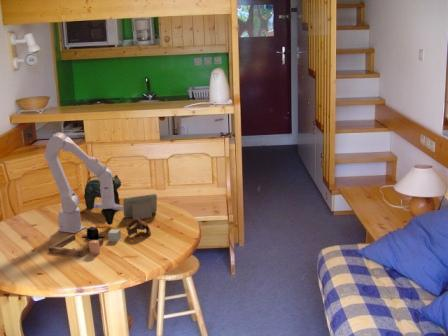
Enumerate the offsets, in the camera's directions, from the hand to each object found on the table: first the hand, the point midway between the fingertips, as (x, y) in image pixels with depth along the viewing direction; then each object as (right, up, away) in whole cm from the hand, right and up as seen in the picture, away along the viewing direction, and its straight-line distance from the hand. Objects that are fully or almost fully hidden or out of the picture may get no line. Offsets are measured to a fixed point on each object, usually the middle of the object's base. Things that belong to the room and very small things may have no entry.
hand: (110, 223), depth 252 cm
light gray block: (+5, -5, -14) cm, 16 cm away
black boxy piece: (-5, -5, -10) cm, 13 cm away
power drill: (-8, +5, +25) cm, 27 cm away
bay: (-9, -8, -21) cm, 24 cm away
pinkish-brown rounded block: (0, -9, -28) cm, 29 cm away
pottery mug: (+15, -4, -9) cm, 18 cm away
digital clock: (+12, +2, +14) cm, 18 cm away
